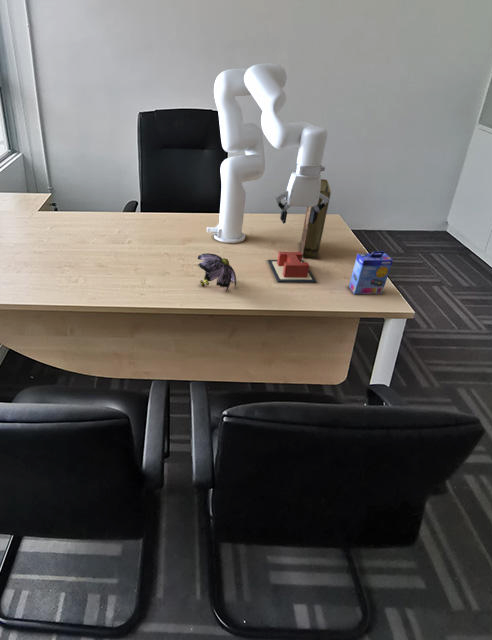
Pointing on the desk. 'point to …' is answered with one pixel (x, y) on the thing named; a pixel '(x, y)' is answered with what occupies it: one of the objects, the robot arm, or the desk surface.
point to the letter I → (292, 264)
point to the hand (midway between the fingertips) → (297, 222)
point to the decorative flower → (217, 270)
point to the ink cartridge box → (370, 273)
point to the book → (314, 226)
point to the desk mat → (279, 276)
